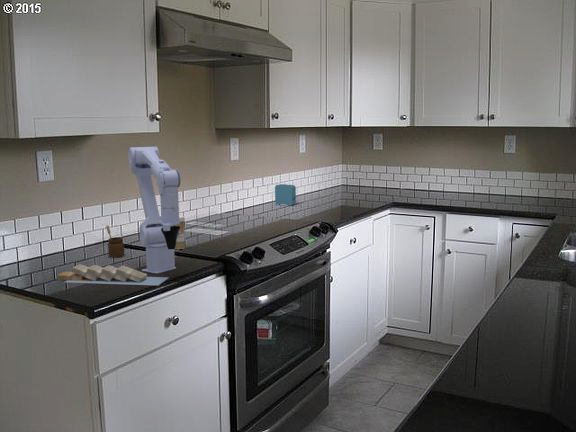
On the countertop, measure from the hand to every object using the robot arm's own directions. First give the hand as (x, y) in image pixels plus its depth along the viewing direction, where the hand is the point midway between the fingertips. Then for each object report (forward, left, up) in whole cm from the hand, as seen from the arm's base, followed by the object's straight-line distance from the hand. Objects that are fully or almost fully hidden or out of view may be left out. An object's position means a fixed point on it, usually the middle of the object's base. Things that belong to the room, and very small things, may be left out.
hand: (171, 249), depth 207 cm
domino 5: (+7, -6, -9) cm, 13 cm away
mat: (+11, -15, -10) cm, 21 cm away
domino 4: (+9, -11, -9) cm, 17 cm away
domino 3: (+11, -15, -9) cm, 21 cm away
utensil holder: (-13, -45, -11) cm, 48 cm away
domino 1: (+16, -24, -9) cm, 31 cm away
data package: (-161, -74, -11) cm, 178 cm away
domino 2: (+14, -20, -9) cm, 26 cm away
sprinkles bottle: (-36, -34, -11) cm, 51 cm away
